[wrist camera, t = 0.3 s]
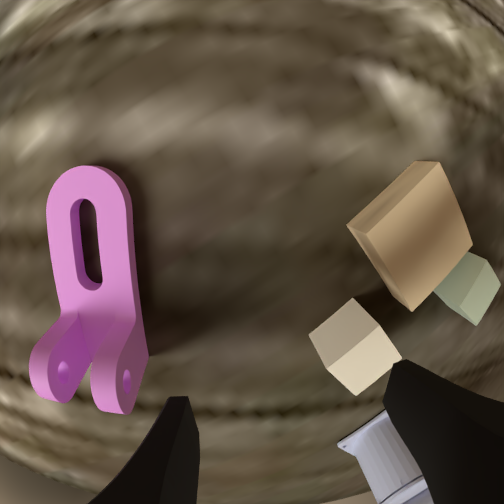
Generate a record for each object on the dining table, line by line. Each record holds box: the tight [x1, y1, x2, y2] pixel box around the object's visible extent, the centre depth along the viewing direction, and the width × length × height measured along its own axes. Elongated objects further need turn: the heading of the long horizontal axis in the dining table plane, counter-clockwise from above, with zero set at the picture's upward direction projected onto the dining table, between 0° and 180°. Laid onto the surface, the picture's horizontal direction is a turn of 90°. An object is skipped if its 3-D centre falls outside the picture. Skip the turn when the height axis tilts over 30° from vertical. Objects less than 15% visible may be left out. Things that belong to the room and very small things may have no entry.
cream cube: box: [309, 298, 402, 396], centre depth 18 cm, size 4×4×4 cm
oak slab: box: [346, 161, 473, 311], centre depth 17 cm, size 7×7×3 cm
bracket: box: [29, 166, 149, 414], centre depth 13 cm, size 13×6×7 cm, turn 178°
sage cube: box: [433, 252, 501, 326], centre depth 18 cm, size 4×4×4 cm
